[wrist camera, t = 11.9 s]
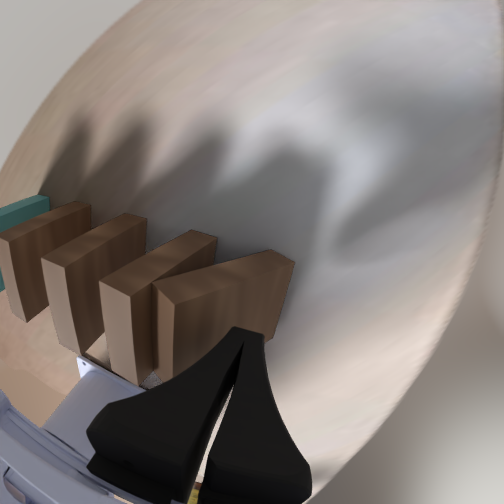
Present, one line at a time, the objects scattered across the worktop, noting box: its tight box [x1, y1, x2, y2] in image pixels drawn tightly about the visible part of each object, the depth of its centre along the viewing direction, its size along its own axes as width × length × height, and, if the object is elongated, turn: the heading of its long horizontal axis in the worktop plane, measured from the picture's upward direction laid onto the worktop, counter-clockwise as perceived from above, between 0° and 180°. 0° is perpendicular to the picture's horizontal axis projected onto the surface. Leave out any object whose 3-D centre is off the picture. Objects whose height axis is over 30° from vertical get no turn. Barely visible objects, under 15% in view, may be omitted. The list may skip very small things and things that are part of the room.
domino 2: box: [0, 201, 91, 323], centre depth 14 cm, size 2×5×7 cm, turn 169°
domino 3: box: [41, 213, 147, 356], centre depth 14 cm, size 2×5×7 cm, turn 169°
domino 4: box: [99, 230, 217, 386], centre depth 14 cm, size 2×5×7 cm, turn 170°
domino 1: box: [0, 195, 50, 292], centre depth 15 cm, size 2×5×7 cm, turn 169°
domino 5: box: [151, 250, 295, 383], centre depth 13 cm, size 2×5×7 cm
